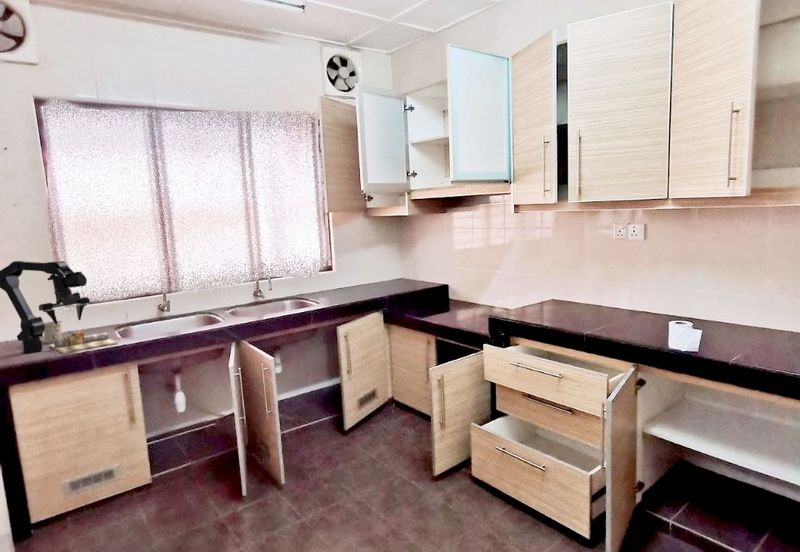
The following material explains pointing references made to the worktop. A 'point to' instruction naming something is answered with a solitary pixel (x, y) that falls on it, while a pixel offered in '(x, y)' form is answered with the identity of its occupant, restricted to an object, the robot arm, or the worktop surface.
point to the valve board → (84, 346)
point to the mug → (53, 331)
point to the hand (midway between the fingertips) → (68, 322)
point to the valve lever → (77, 333)
